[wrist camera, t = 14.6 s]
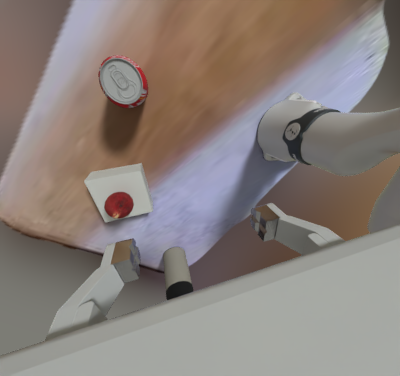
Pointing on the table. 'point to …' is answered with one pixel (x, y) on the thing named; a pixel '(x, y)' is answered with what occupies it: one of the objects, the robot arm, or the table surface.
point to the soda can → (123, 81)
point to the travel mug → (176, 273)
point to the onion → (119, 205)
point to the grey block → (120, 188)
